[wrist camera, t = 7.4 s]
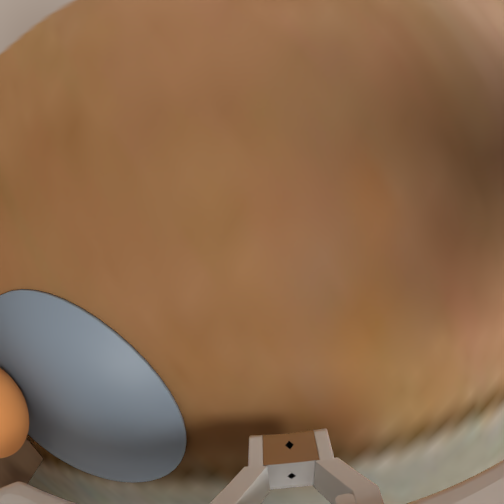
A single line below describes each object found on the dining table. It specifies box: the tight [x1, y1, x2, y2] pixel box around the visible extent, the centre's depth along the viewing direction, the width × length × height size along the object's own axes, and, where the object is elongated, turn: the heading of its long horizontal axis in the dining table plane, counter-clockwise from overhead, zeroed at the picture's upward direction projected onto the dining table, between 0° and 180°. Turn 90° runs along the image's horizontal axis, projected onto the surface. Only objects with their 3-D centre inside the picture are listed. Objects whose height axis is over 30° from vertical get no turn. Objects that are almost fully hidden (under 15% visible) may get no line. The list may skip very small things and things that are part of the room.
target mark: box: [0, 289, 187, 482], centre depth 12 cm, size 13×13×1 cm
